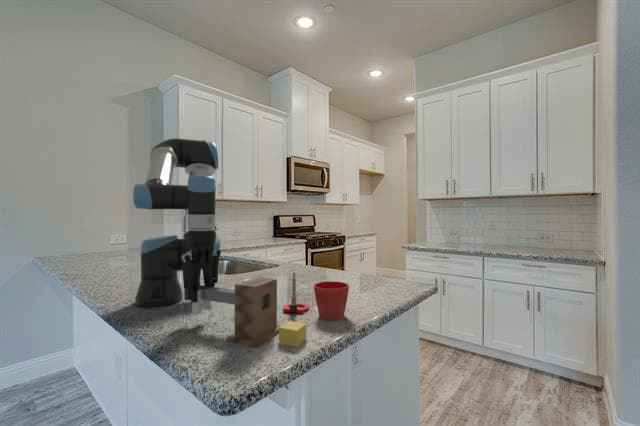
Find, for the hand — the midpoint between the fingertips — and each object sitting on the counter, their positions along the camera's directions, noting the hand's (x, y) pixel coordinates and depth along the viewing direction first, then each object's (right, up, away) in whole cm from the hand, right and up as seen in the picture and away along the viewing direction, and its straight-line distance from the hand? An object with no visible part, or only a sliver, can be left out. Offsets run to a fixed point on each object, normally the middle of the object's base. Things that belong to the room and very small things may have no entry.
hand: (201, 310), depth 89 cm
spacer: (+27, 0, -12) cm, 30 cm away
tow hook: (+26, -4, +13) cm, 30 cm away
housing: (+18, -4, -8) cm, 20 cm away
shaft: (+8, +3, -4) cm, 9 cm away
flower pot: (+38, -4, +7) cm, 39 cm away
